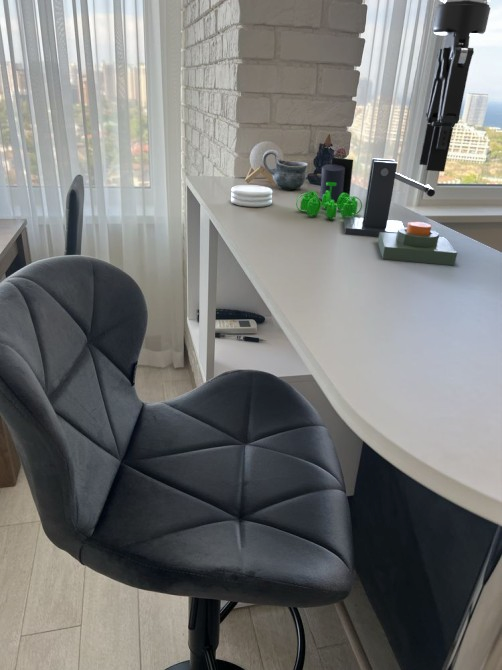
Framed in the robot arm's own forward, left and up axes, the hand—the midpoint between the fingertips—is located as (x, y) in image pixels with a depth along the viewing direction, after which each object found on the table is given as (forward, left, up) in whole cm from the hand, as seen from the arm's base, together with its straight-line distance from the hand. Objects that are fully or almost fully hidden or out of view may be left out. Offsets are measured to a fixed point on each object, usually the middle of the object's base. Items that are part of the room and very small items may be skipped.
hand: (431, 167), depth 84 cm
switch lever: (+2, -15, -6) cm, 16 cm away
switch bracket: (+6, -15, -15) cm, 22 cm away
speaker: (+14, -43, -15) cm, 48 cm away
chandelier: (+15, -27, -15) cm, 34 cm away
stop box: (0, 0, -15) cm, 15 cm away
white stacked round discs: (+34, -32, -15) cm, 49 cm away
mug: (+28, -55, -15) cm, 64 cm away
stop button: (0, 0, -11) cm, 11 cm away
